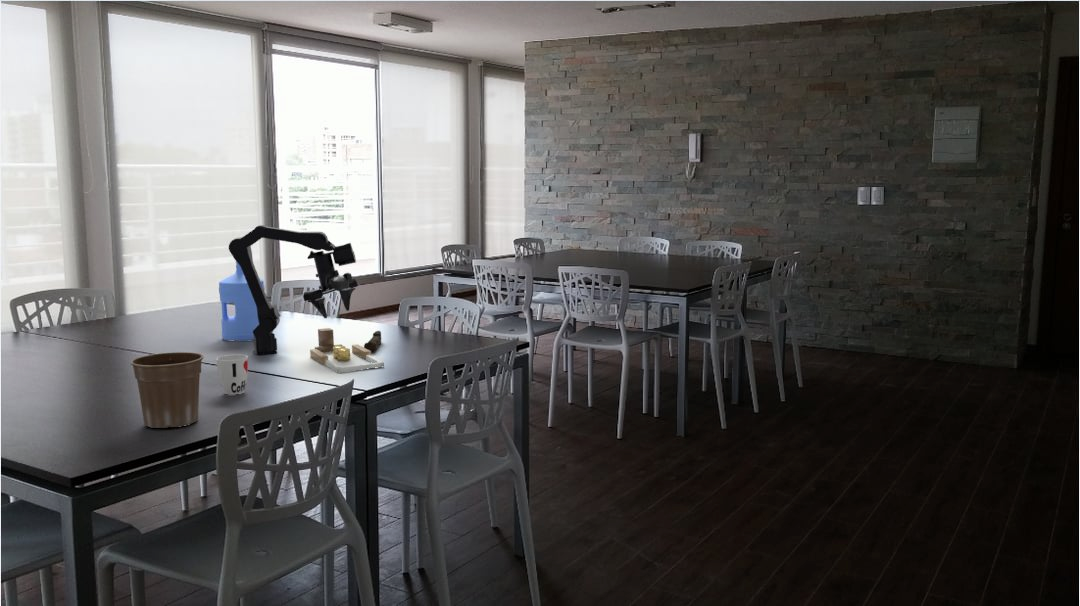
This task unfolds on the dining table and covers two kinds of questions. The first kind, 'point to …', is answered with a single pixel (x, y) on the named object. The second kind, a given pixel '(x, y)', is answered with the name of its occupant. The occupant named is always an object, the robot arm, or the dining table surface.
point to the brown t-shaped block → (326, 340)
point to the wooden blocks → (322, 357)
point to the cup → (233, 373)
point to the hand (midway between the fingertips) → (336, 314)
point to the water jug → (238, 307)
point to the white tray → (355, 367)
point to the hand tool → (374, 342)
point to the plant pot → (168, 388)
